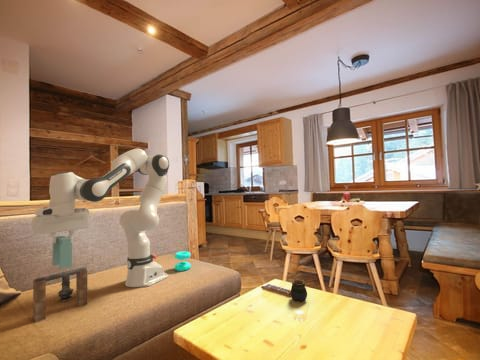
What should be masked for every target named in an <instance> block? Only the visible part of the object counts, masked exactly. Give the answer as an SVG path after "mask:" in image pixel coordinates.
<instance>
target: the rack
mask: <svg viewBox="0 0 480 360" xmlns="http://www.w3.org/2000/svg"><path fill="white" fill-rule="evenodd" d="M74 275H76V276H75V277H76V279H75V280H76V286H75V287H76V289H75V290H76V291H75V292H76V294H75V295H76V296H75V297H76V298H75V299H76V301H75V302H76V305H77V306H78V307H83V306H85V305H88V269H87V267H86V266H82V267H79V268H75V269H71V270H67V271H63V272H59V273H55V274H50V275H47V276H43V277H38V278H34V279H33V282H32V287H33V288H32V290H33V292H32V301H33V302H32V319H33V321H34V322H35V323H37V322H40V321H43V320H46V310H47V309H46V305H47V304H46V301H47V299H46V298H47V293H46V289H47V286H46V284H47V282H50V281H53V280H57V279H62V277H66V276H74Z"/></svg>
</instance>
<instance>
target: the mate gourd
mask: <svg viewBox="0 0 480 360" xmlns="http://www.w3.org/2000/svg"><path fill="white" fill-rule="evenodd" d="M305 285H306V282H305V281H304V280H302V279H293V280H292V281H291V289H290V291H289V294H290V297H291V299H292V300H293V301H294V302H296V303H303V302H305V301H306V300H307V297H308V291H307V288H306V286H305Z"/></svg>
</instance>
